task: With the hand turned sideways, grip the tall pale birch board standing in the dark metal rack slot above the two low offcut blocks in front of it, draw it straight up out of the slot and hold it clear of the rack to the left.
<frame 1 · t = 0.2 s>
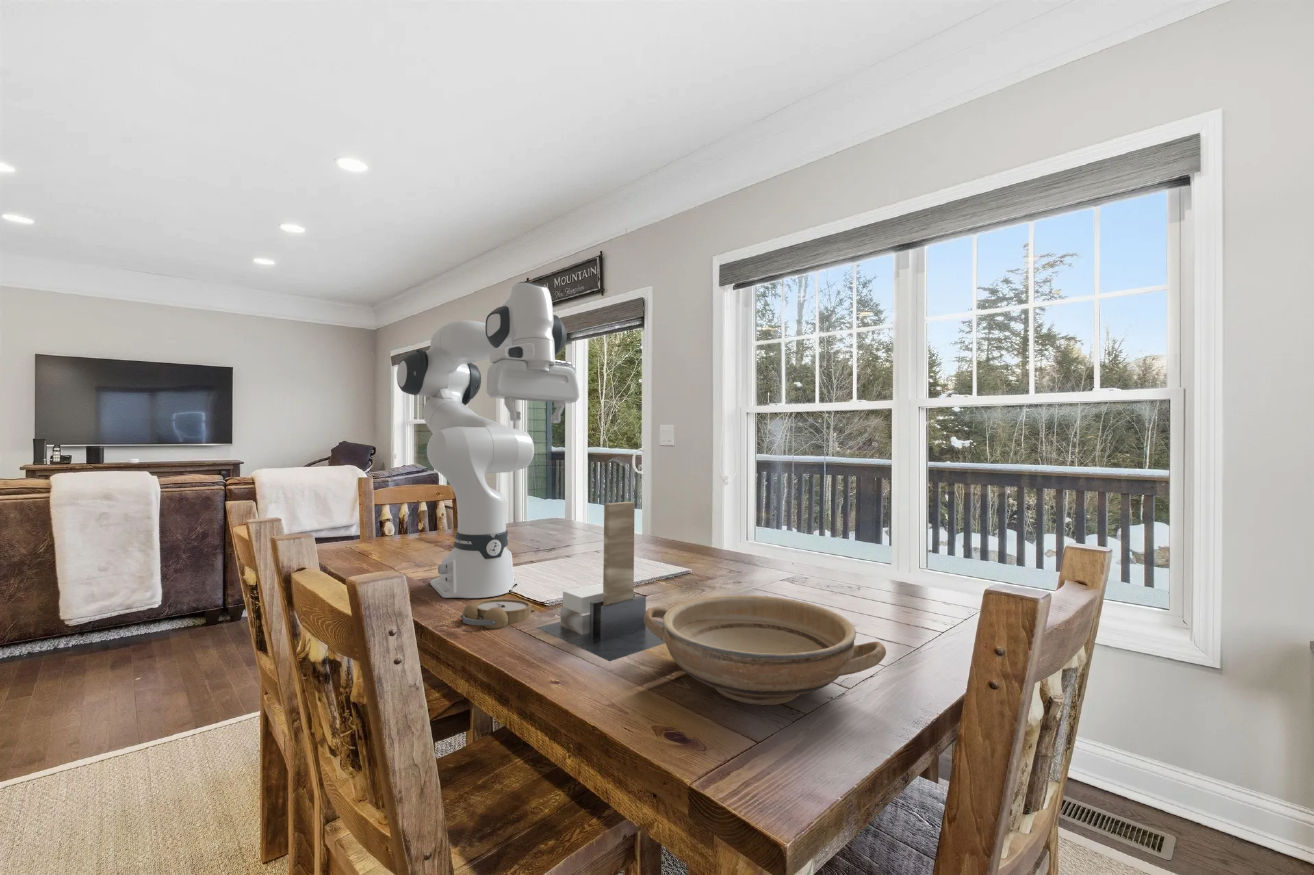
hand: (536, 421, 123), 40 cm above the table, tool pointing down, fingers open, 8 cm apart
birch board: (618, 631, 110), point 1 cm above the table, touching slot rack
offcut upper: (593, 605, 115), point 4 cm above the table, touching offcut lower
alarm clock: (496, 625, 117), on the table
offcut lower: (596, 623, 115), point 1 cm above the table, touching offcut upper, slot rack
slot rack: (618, 637, 110), on the table
ceramic bowl: (754, 687, 89), on the table
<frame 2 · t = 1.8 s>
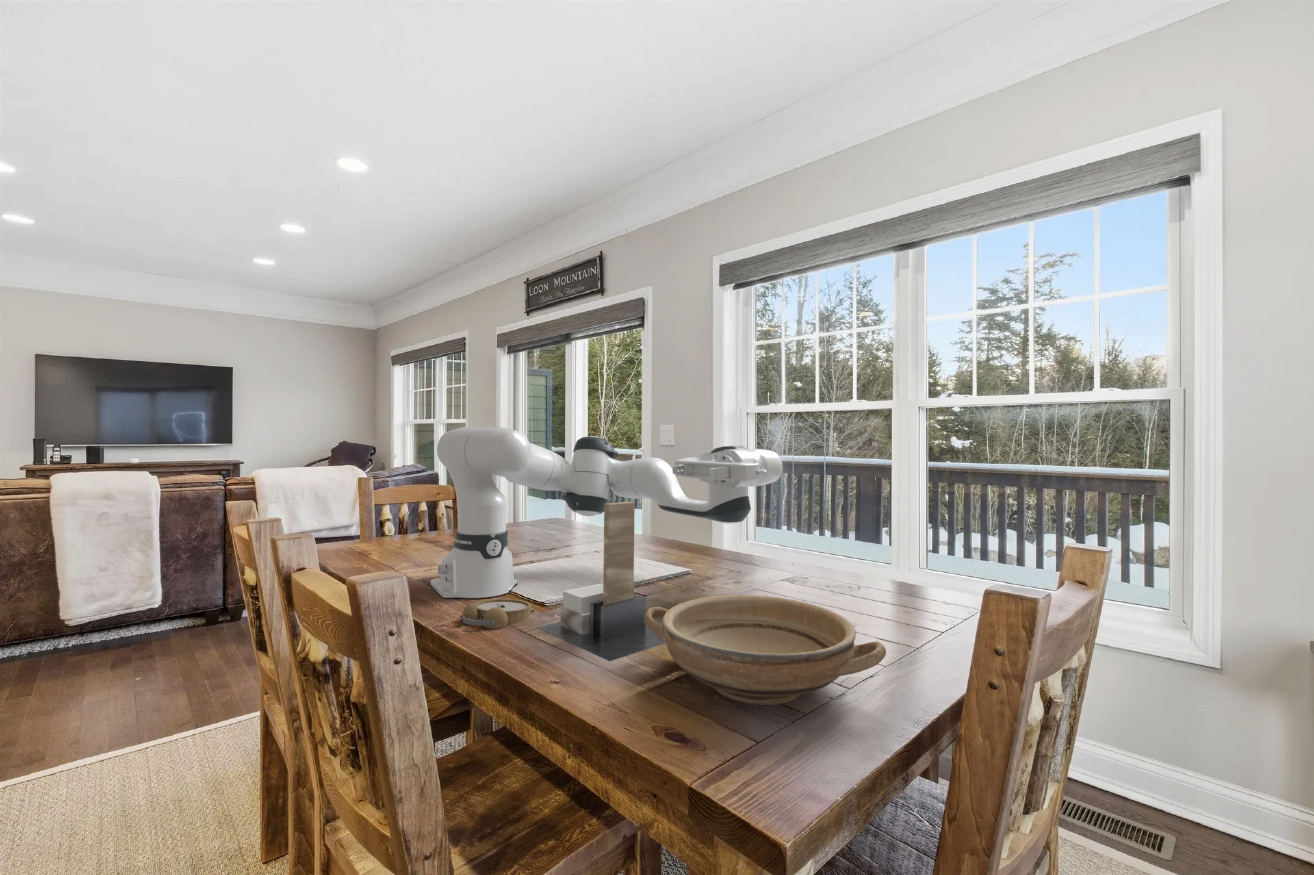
hand: (691, 471, 123), 30 cm above the table, tool horizontal, fingers open, 8 cm apart
nothing on the table moved.
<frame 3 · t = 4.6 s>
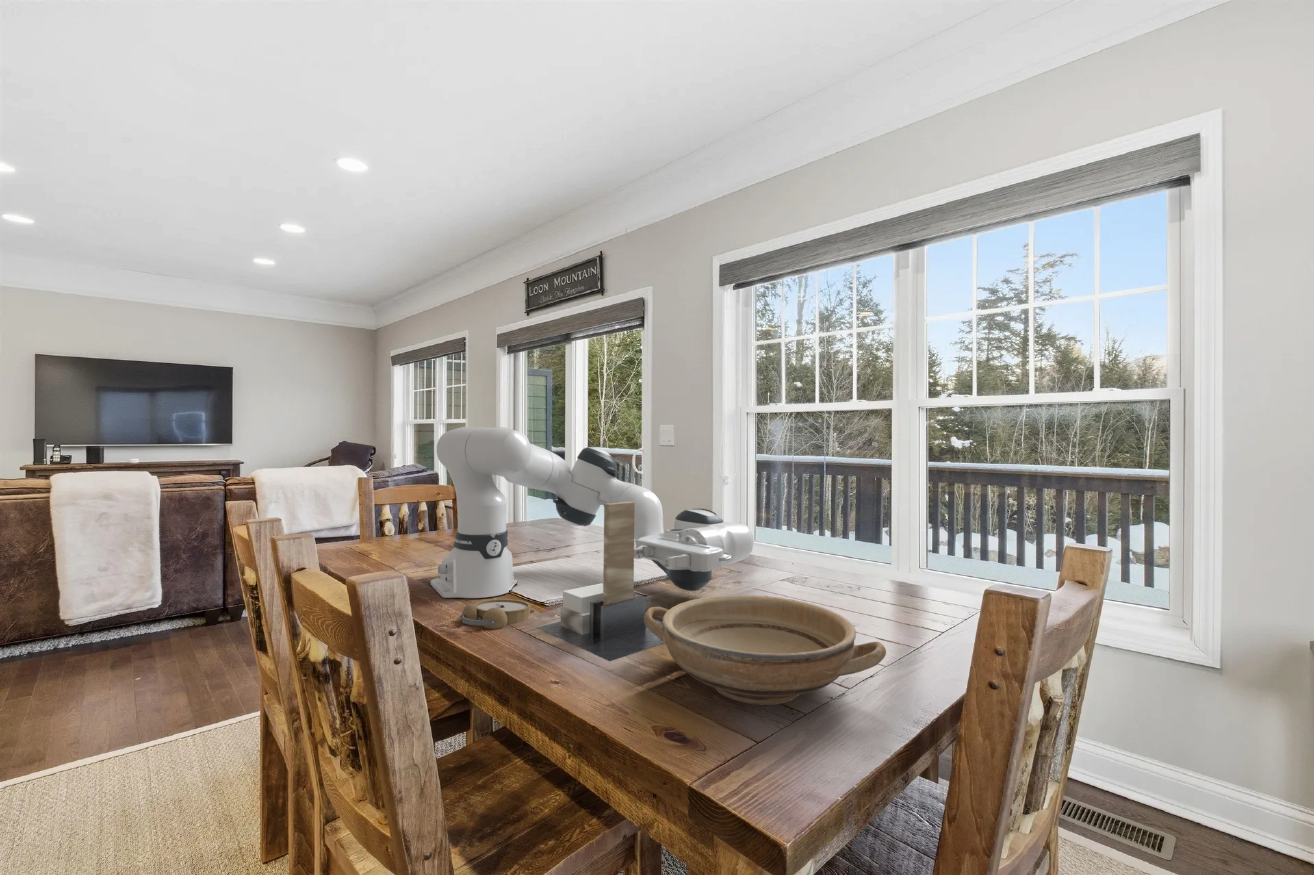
hand: (649, 558, 114), 14 cm above the table, tool horizontal, fingers open, 8 cm apart
nothing on the table moved.
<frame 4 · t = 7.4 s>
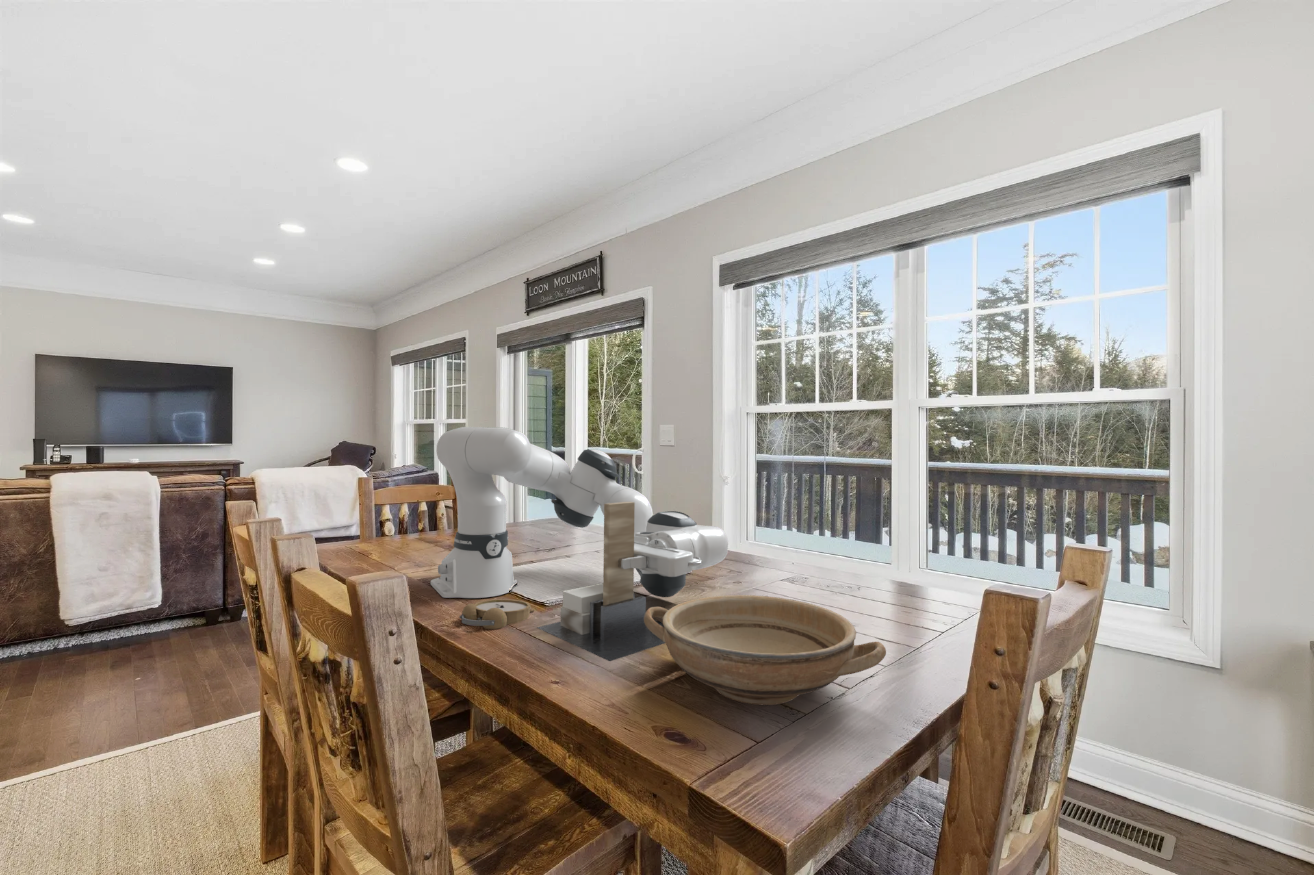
hand: (615, 562, 109), 14 cm above the table, tool horizontal, fingers closed on birch board, 2 cm apart
birch board: (618, 631, 110), point 1 cm above the table, touching gripper, slot rack
everything else where it was.
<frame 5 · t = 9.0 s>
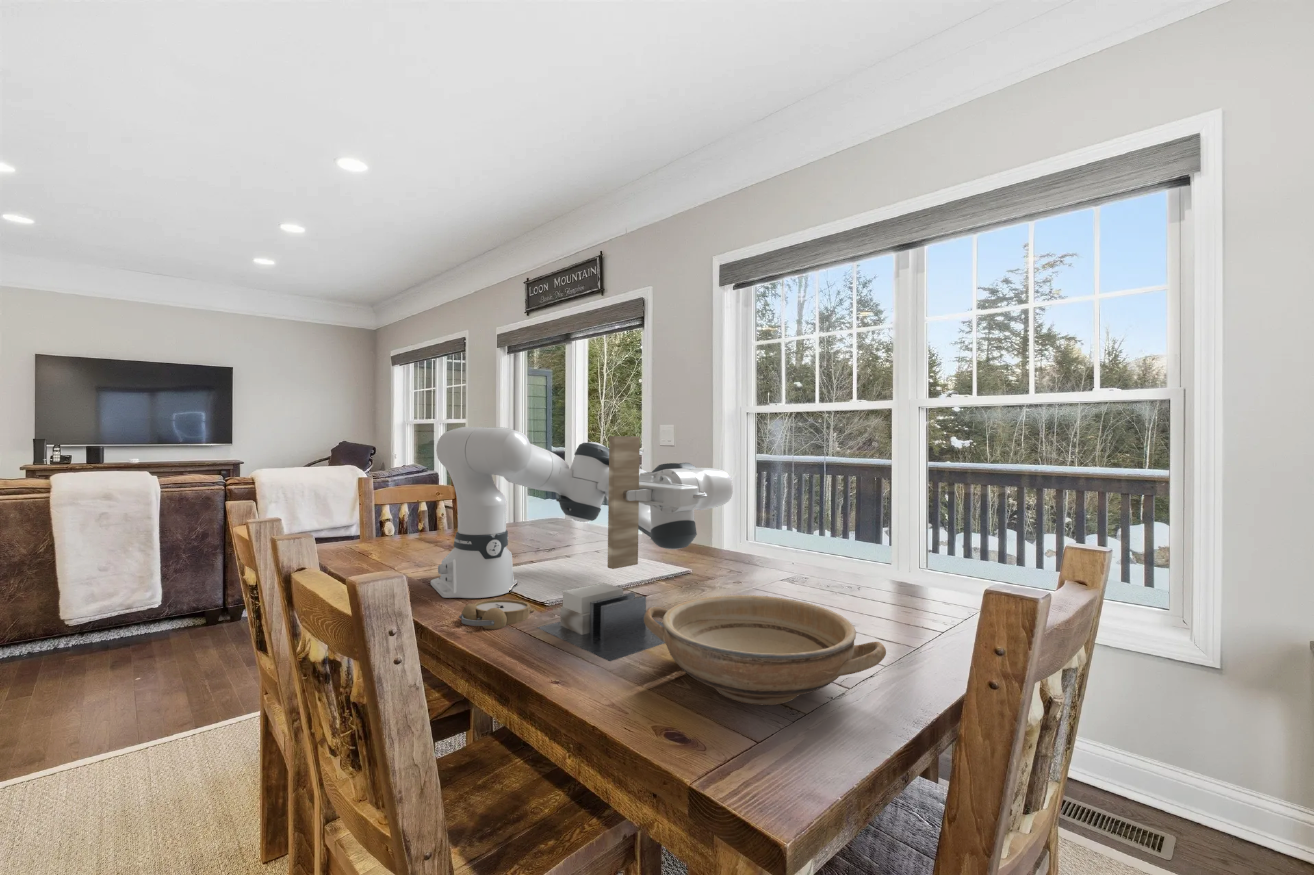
hand: (620, 495, 109), 27 cm above the table, tool horizontal, fingers closed on birch board
birch board: (622, 565, 109), point 13 cm above the table, touching gripper
everything else where it was.
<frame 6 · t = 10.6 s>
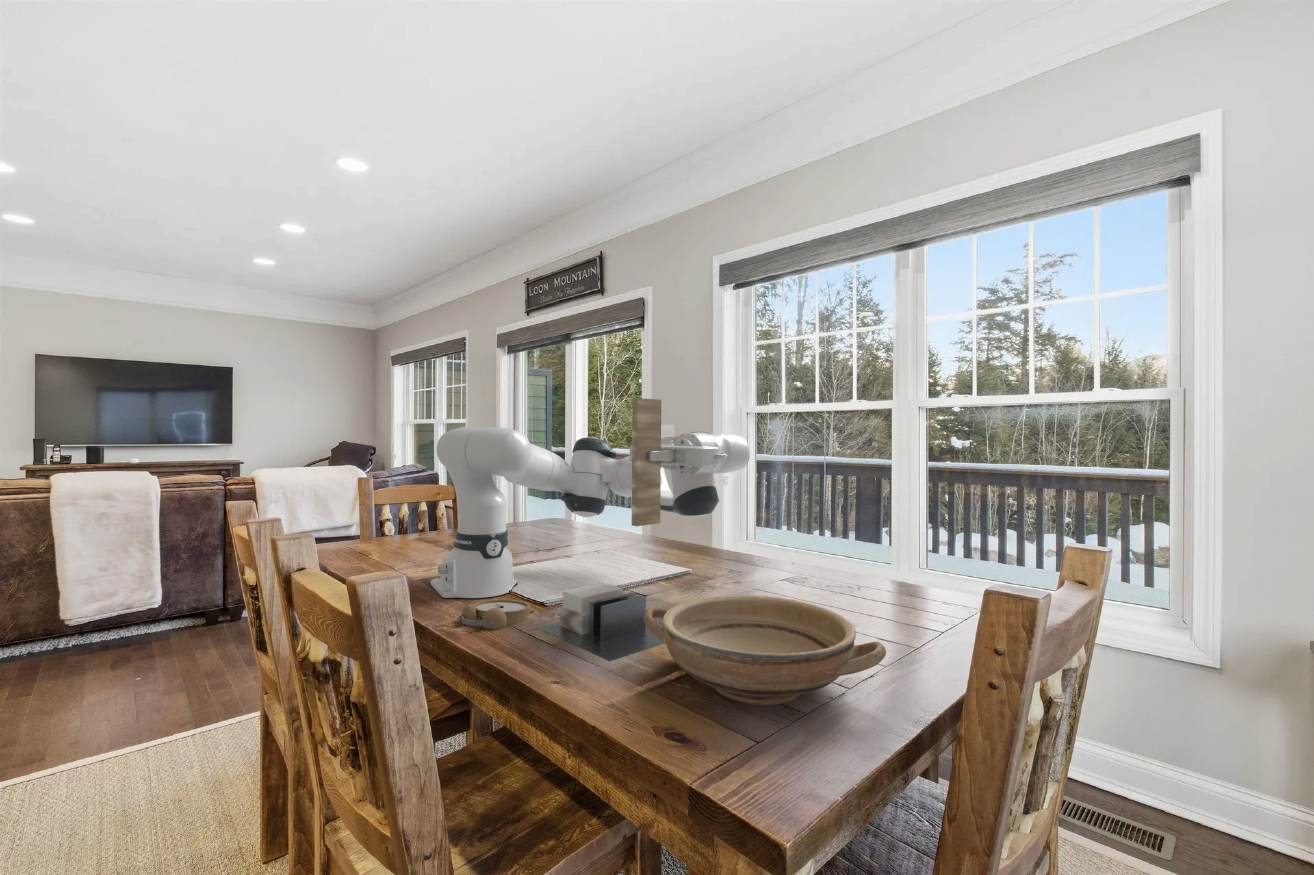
hand: (643, 455, 112), 34 cm above the table, tool horizontal, fingers closed on birch board
birch board: (646, 524, 113), point 21 cm above the table, touching gripper
everything else where it was.
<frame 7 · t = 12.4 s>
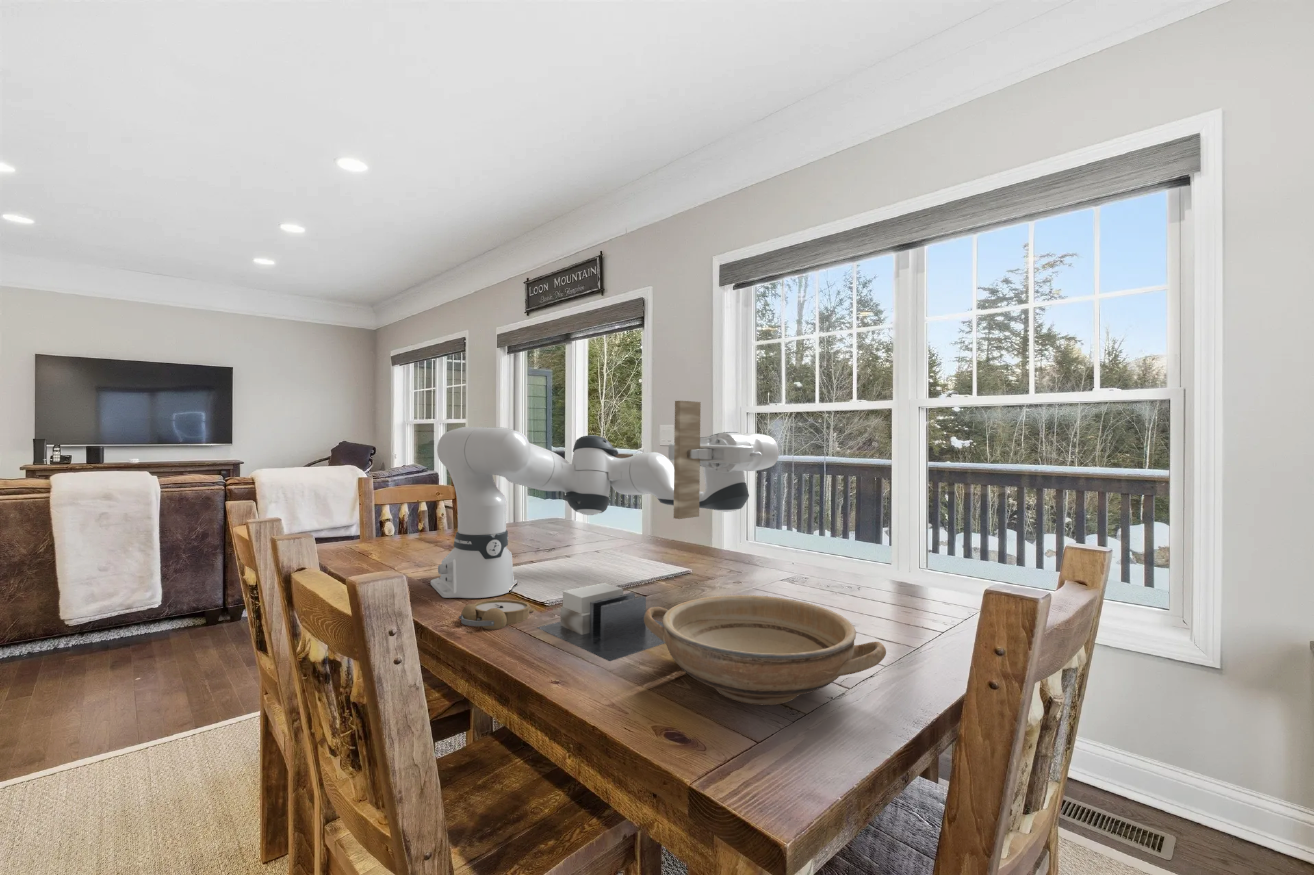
hand: (684, 453, 121), 34 cm above the table, tool horizontal, fingers closed on birch board
birch board: (686, 517, 122), point 21 cm above the table, touching gripper
everything else where it was.
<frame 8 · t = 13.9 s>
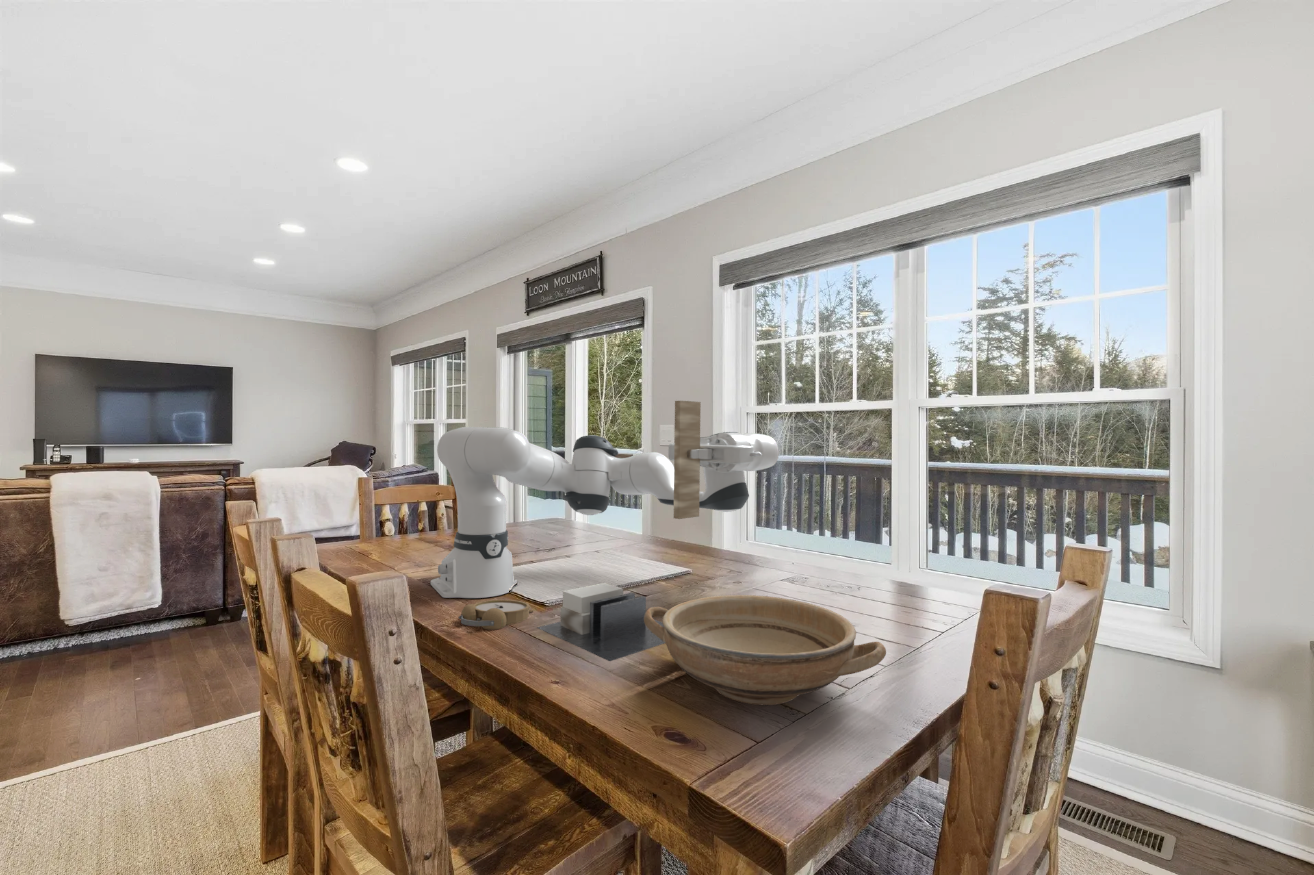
hand: (684, 453, 121), 34 cm above the table, tool horizontal, fingers closed on birch board
birch board: (686, 517, 122), point 21 cm above the table, touching gripper
everything else where it was.
at the end: birch board inside the target area (0.4 cm from its centre), point 20.7 cm above the table; the gripper is holding birch board; offcut upper moved 0.0 cm from its start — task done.
